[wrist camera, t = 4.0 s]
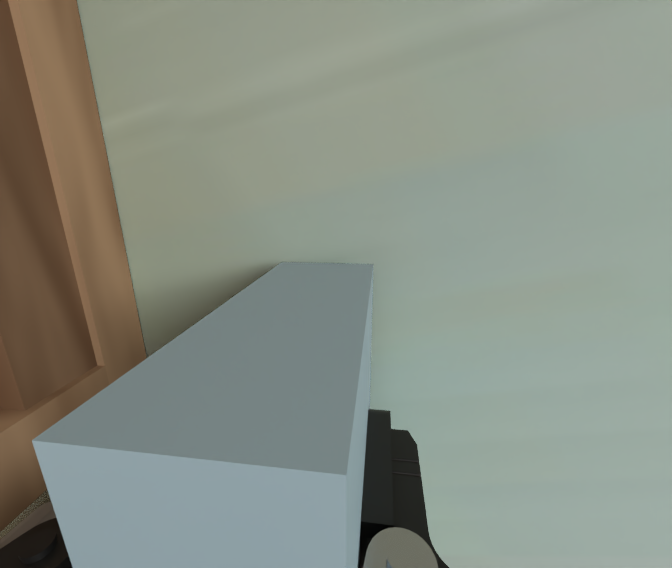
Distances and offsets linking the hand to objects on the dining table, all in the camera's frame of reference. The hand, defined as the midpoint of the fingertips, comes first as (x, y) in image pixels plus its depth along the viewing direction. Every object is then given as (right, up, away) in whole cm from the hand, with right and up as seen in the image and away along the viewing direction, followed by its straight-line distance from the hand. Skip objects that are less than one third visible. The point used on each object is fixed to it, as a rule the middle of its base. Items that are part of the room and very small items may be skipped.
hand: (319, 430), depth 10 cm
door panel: (0, +1, +2) cm, 2 cm away
